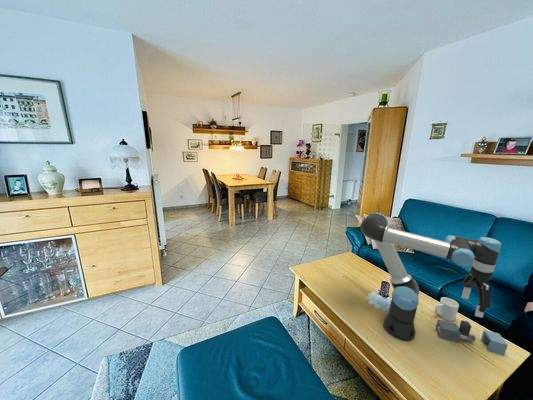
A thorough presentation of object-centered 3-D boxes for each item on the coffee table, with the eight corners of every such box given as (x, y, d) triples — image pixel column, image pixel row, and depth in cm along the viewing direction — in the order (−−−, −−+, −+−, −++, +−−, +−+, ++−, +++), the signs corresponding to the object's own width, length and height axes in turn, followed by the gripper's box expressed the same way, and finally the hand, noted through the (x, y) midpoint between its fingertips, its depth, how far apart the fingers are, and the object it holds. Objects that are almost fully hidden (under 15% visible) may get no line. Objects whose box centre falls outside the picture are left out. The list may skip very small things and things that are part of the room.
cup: (458, 321, 127) (462, 306, 124) (439, 322, 126) (443, 307, 124) (446, 311, 135) (450, 297, 132) (428, 311, 134) (431, 297, 132)
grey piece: (439, 334, 117) (442, 319, 115) (436, 329, 120) (440, 315, 117) (474, 343, 112) (479, 328, 109) (471, 338, 115) (475, 323, 112)
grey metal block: (439, 338, 116) (442, 328, 114) (435, 328, 121) (437, 319, 120) (458, 342, 113) (461, 332, 111) (453, 333, 119) (455, 323, 117)
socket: (488, 351, 109) (491, 340, 107) (480, 339, 115) (484, 329, 113) (504, 355, 107) (507, 344, 105) (495, 343, 113) (498, 333, 111)
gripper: (509, 286, 92) (495, 327, 97) (478, 258, 115) (468, 293, 120) (487, 282, 95) (474, 322, 100) (460, 255, 117) (451, 290, 123)
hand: (471, 306), depth 110 cm, fingers open, 13 cm apart
